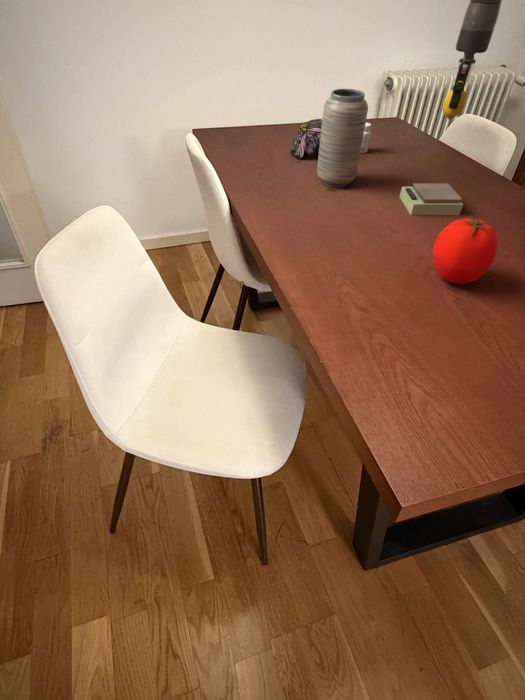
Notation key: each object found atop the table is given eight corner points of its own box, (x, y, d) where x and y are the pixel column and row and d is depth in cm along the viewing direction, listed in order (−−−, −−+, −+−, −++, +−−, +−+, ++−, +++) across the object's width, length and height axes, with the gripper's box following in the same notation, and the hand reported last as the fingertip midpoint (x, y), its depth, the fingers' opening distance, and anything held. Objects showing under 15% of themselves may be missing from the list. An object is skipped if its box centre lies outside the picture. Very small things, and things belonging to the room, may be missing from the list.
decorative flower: (287, 115, 134) (331, 103, 129) (296, 146, 144) (337, 136, 138) (282, 141, 127) (329, 130, 122) (292, 172, 137) (336, 163, 131)
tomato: (491, 278, 85) (520, 220, 76) (464, 302, 79) (493, 243, 70) (441, 256, 91) (462, 200, 82) (412, 278, 85) (432, 219, 76)
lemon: (439, 121, 111) (449, 87, 105) (438, 116, 115) (447, 83, 109) (460, 123, 110) (471, 89, 104) (458, 117, 114) (469, 84, 108)
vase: (312, 186, 117) (321, 96, 101) (320, 171, 125) (329, 85, 109) (351, 192, 115) (367, 100, 98) (357, 176, 123) (373, 89, 106)
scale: (444, 197, 113) (448, 184, 111) (459, 215, 106) (464, 202, 103) (399, 197, 113) (402, 184, 110) (410, 215, 105) (414, 202, 103)
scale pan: (447, 186, 111) (448, 183, 110) (461, 202, 104) (462, 199, 103) (411, 186, 110) (412, 183, 110) (423, 202, 103) (424, 199, 103)
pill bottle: (359, 147, 141) (364, 121, 135) (370, 151, 138) (375, 124, 133) (350, 150, 139) (354, 123, 133) (361, 154, 136) (366, 127, 130)
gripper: (493, 31, 92) (466, 114, 104) (495, 24, 101) (470, 101, 113) (459, 29, 94) (436, 110, 106) (464, 22, 104) (442, 98, 115)
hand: (453, 105), depth 110 cm, fingers closed on lemon, 5 cm apart
